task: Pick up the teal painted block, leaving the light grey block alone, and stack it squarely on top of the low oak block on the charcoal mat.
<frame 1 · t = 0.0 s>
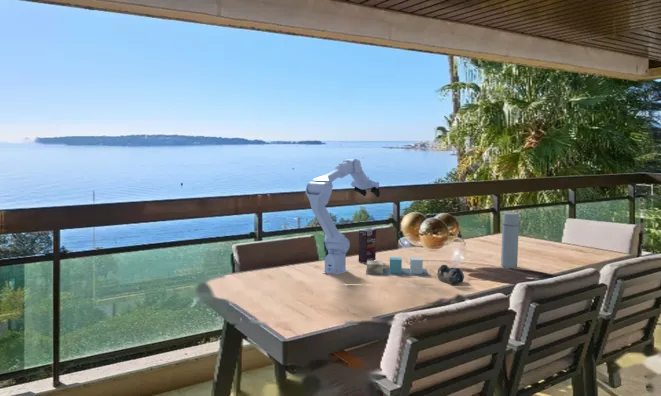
hand: (372, 195, 243), 32 cm above the table, tool tilted 50°, fingers open, 7 cm apart
light grey block: (416, 272, 222), point 1 cm above the table, touching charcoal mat
supplement box: (367, 262, 244), on the table
black rounded lump: (448, 283, 207), on the table
water bottle: (508, 266, 235), on the table
teal block: (395, 271, 223), point 1 cm above the table, touching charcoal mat
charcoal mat: (396, 273, 223), on the table
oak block: (375, 271, 224), point 1 cm above the table, touching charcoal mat
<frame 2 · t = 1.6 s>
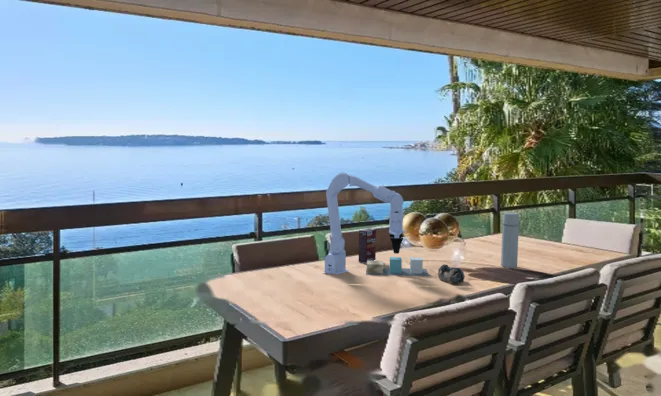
hand: (395, 251, 222), 10 cm above the table, tool pointing down, fingers open, 7 cm apart
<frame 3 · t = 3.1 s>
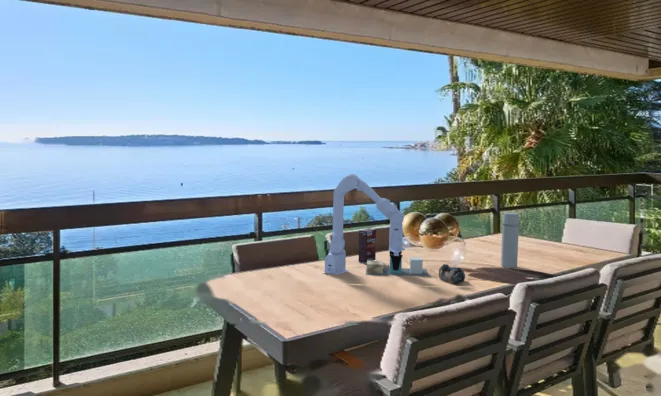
hand: (395, 268, 223), 2 cm above the table, tool pointing down, fingers closed on teal block, 5 cm apart
teal block: (395, 271, 223), point 1 cm above the table, touching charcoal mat, gripper
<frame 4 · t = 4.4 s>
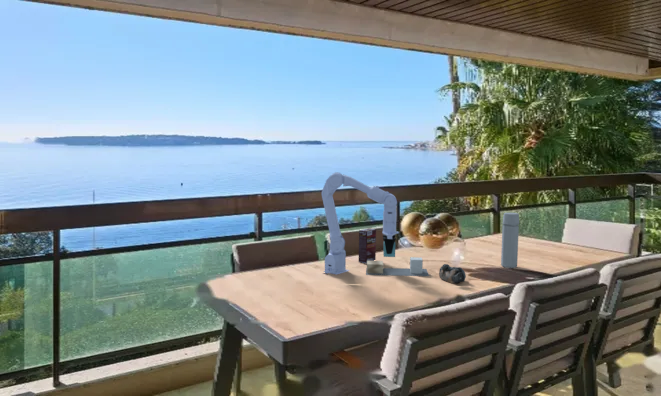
hand: (388, 252, 222), 9 cm above the table, tool pointing down, fingers closed on teal block, 5 cm apart
teal block: (389, 255, 222), point 8 cm above the table, touching gripper
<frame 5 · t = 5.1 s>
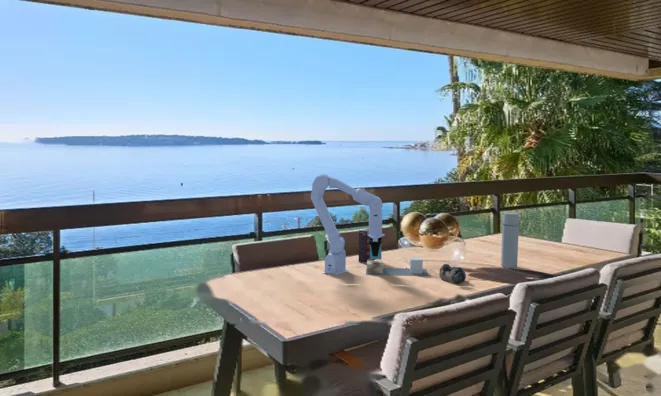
hand: (375, 254, 223), 8 cm above the table, tool pointing down, fingers closed on teal block, 5 cm apart
teal block: (375, 258, 223), point 7 cm above the table, touching gripper
when the fingers open (7 cm above the table, at t = 5.8 s): teal block stays where it is, resting on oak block.
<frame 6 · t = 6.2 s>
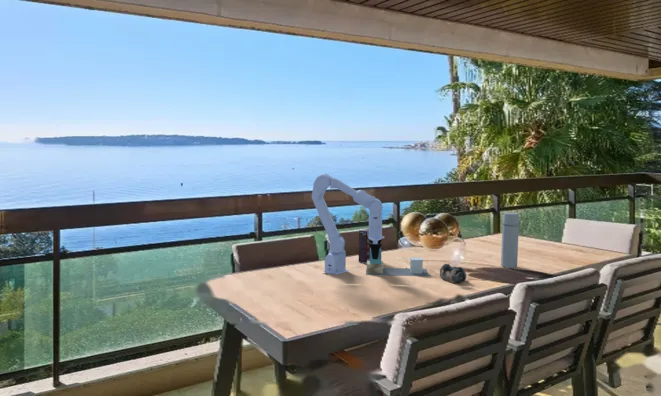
hand: (375, 257, 223), 7 cm above the table, tool pointing down, fingers open, 7 cm apart
teal block: (375, 262, 223), point 5 cm above the table, touching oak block
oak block: (375, 271, 224), point 1 cm above the table, touching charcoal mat, teal block
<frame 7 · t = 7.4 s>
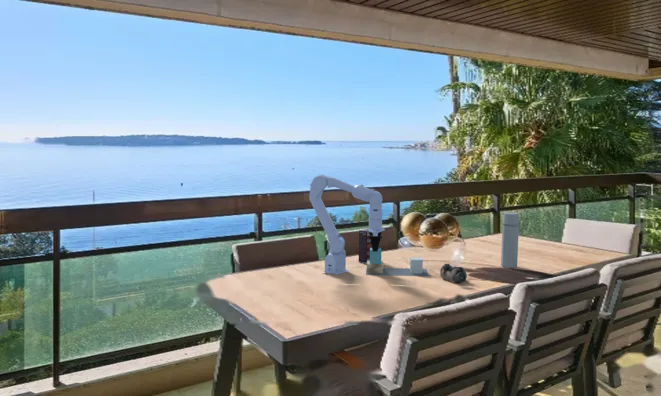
hand: (375, 249, 222), 10 cm above the table, tool pointing down, fingers open, 7 cm apart
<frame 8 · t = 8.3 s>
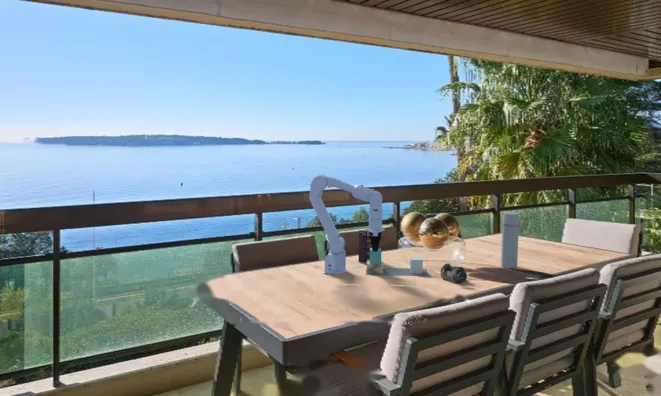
hand: (375, 249, 222), 10 cm above the table, tool pointing down, fingers open, 7 cm apart
at the end: teal block 0.2 cm off-centre on the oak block, point 4.0 cm above the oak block's base; teal block tilted 0°; the gripper is holding nothing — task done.
